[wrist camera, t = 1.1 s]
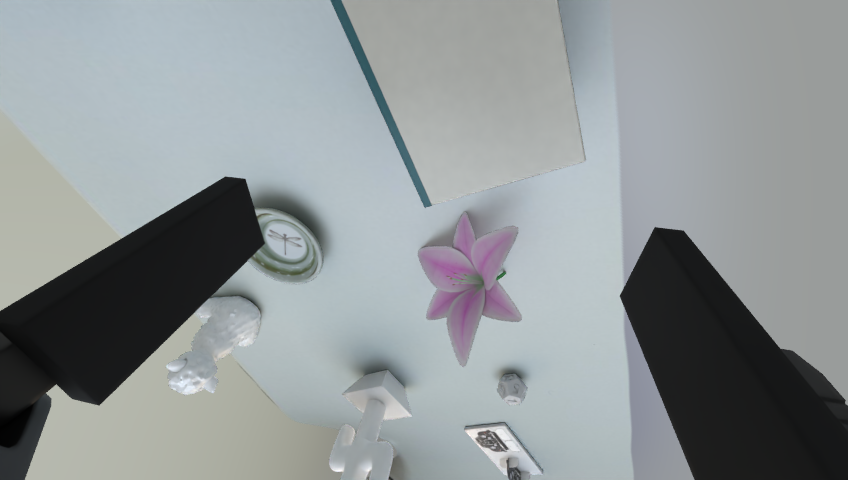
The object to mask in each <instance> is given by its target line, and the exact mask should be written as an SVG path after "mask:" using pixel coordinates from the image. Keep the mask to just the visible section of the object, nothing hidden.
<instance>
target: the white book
mask: <svg viewBox="0 0 848 480" xmlns="http://www.w3.org/2000/svg"><path fill="white" fill-rule="evenodd" d="M331 2H332V5H333V7H334V9H335V11H336V13H337V16H338V18H339V20H340V22H341V24H342V27H343V29H344V31H345V33H346V35H347V38H348V40H349V42H350V44H351V47H352V49H353V51H354V53H355V55H356V58H357V60H358V62H359V64H360V66H361V69H362V71H363V73H364V75H365V77H366V80H367V82H368V84H369V86H370V88H371V91H372V93H373V95H374V97H375V99H376V102H377V104H378V106H379V108H380V110H381V113H382V115H383V117H384V119H385V121H386V124H387V126H388V128H389V130H390V132H391V135H392V137H393V139H394V141H395V143H396V146H397V148H398V150H399V152H400V154H401V157H402V159H403V161H404V163H405V165H406V168H407V170H408V172H409V174H410V176H411V179H412V181H413V183H414V185H415V187H416V190H417V192H418V194H419V196H420V198H421V201H422V203H423V205H424V207H425V208H426V207H429V206H432V205H435V204H438V203H442V202H445V201H449V200H452V199H456V198H459V197H463V196H466V195H470V194H473V193H477V192H480V191H484V190H487V189H491V188H494V187H498V186H501V185H505V184H508V183H512V182H515V181H519V180H522V179H526V178H529V177H533V176H536V175H540V174H543V173H547V172H550V171H554V170H557V169H561V168H564V167H567V166H571V165H574V164H578V163H581V162H584V161H585V160H586V158H585V153H584V147H583V141H582V136H581V130H580V124H579V118H578V113H577V107H576V101H575V96H574V90H573V84H572V79H571V73H570V67H569V61H568V56H567V50H566V44H565V39H564V33H563V27H562V21H561V16H560V10H559V4H558V0H331Z"/></svg>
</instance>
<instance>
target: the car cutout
mask: <svg viewBox="0 0 848 480" xmlns="http://www.w3.org/2000/svg"><path fill="white" fill-rule="evenodd" d="M464 430H465V431H466V432H467V434H468V435H469V436H470V437H471V438H472V439H473V440H474V441H475V443H476V444H477V445H478V446H479V447H480V448H481V449H482V450H483V451H484V453H485V454H486V455H487V456H488V457H489V458H490V459H491V460H492V462H493V463H494V464H495V465H496V466H497V467H498V468H499V469H500V471H501V472H502V473H503V474H504V475H505V476H508V478H509V480H529V479H530V475H541V474H543V471H542V469H541V468H540V467H539V466H538V464H537V463H536V462H535V460H534V459H533V458H532V457H531V455H530V454H529V453H528V452H527V450H526V449H525V448H524V446H523V445H522V444H521V443H520V441H519V440H518V439H517V438H516V436H515V435H514V434H513V432H512V431H511V430H510V429H509V427H508V426H507V425H506V424H505V423H497V424H488V425H479V426H470V427H465V428H464Z"/></svg>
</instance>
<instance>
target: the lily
mask: <svg viewBox="0 0 848 480" xmlns="http://www.w3.org/2000/svg"><path fill="white" fill-rule="evenodd" d="M517 234H518V227H515V226H510V227H505V228H502V229H498V230H495V231H493V232H490V233H488V234H486V235H484V236H482V237H480V238H478V239H477V240H476V237H475V234H474V231H473V228H472V226H471V223H470V220H469V218H468V216H467V213H466V212H464V213H463V214H462V216H461V218H460V220H459V223H458V226H457V229H456V232H455V236H454V241H453V248H451V247H445V246H431V247H424V248H421V249H420V250H419V251H418V257H419V261H420V263H421V265H422V268H423V270H424V272H425V274H426V276H427V277H428V279H429V280H430V282H431V283H432V284H433V285H434V286H435V287H436V288H438V289H437V290H436V292H435V294H434V295H433V298H432V300H431V302H430V304H429V307H428V310H427V314H426V319H428V320H436V319H441V318H445V317H447V327H448V333H449V337H450V340H451V344H452V347H453V350H454V352H455V355H456V358H457V360H458V362H459V364H460V365H461V366H462V367H464V366H465V365H466V363H467V361H468V358H469V355H470V351H471V348H472V344H473V340H474V337H475V334H476V331H477V328H478V325H479V322H480V319H481V316H482V315H484V316H485V317H489V318H492V319H497V320H502V321H510V322H519V321H521V320H522V316H521V314H520V312H519V310H518V309H517V307H516V306H515V304H514V303H513V301H512V300H511V298H510V297H509V296H508V294H507V293H506V291H505V290H504V289H503V287H502V286H501V285H500V284H499V282H498V281H497V280H498V279H500V278H501V277H503V276H504V275H505V274H506V272H503V273H502V274H500V275H499V276H498V274H499V272H500V269H501V267H502V265H503V263H504V261H505V259H506V257H507V255H508V253H509V251H510V249H511V247H512V245H513V243H514V241H515V239H516V236H517Z"/></svg>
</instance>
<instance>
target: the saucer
mask: <svg viewBox="0 0 848 480" xmlns="http://www.w3.org/2000/svg"><path fill="white" fill-rule="evenodd" d="M254 209H255V212H256V215H257V219H258V222H259V225H260V228H261V232H262V235H263V238H264V242H265V244H264V245H263V246H262V247H261V248H260V249H259V250H258V251H257V252H256V253H255V254H254V255H253V256H252V257H251V258H250V259H249V260H248V262H249V263H250V264H251V265H252V266H253V267H254V268H255V269H256V270H258V271H259V272H261V273H262V274H264V275H265V276H267V277H269V278H271V279H274V280H276V281H279V282H283V283H287V284H303V283H307V282H309V281H311V280H313V279H314V278H316V277H317V276H318V274H319V273H320V271H321V269H322V266H323V253H322V249H321V246H320V244H319V242H318V240H317V238H316V237H315V235H314V234H313V233H312V232H311V230H309V228H308V227H307V226H306V225H304V224H303V223H302V222H301V221H299V220H298V219H296V218H295V217H293V216H291V215H289V214H287V213H285V212H283V211H280V210H276V209H272V208H254Z"/></svg>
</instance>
